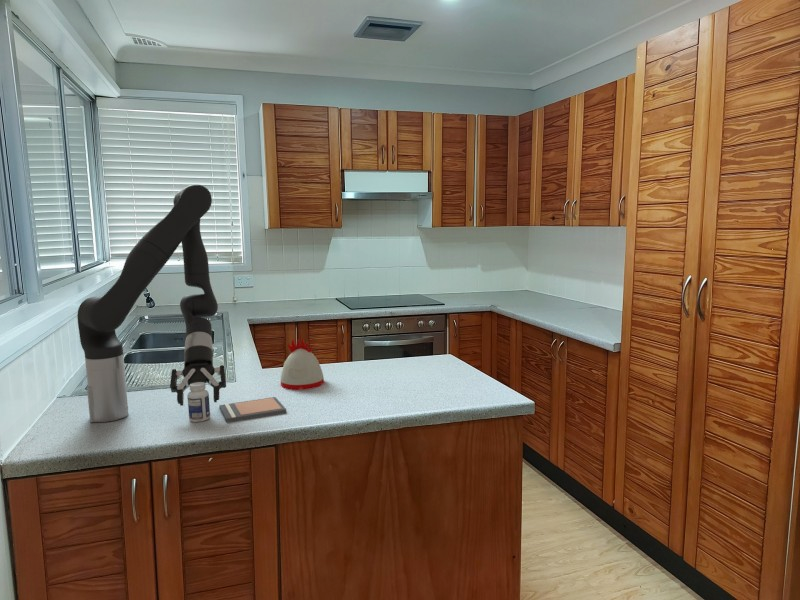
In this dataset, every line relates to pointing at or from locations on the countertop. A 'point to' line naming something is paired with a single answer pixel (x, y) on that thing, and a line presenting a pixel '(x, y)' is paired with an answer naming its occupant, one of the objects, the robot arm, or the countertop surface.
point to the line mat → (251, 409)
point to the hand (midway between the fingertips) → (198, 402)
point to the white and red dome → (301, 369)
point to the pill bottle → (198, 402)
